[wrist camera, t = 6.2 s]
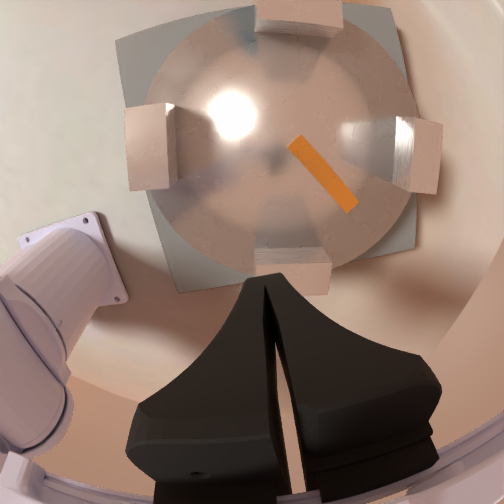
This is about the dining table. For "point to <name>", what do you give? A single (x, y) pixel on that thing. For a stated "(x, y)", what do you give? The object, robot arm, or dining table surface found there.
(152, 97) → the lugged metal disc
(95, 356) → the dining table surface
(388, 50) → the base plate
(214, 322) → the dining table surface
